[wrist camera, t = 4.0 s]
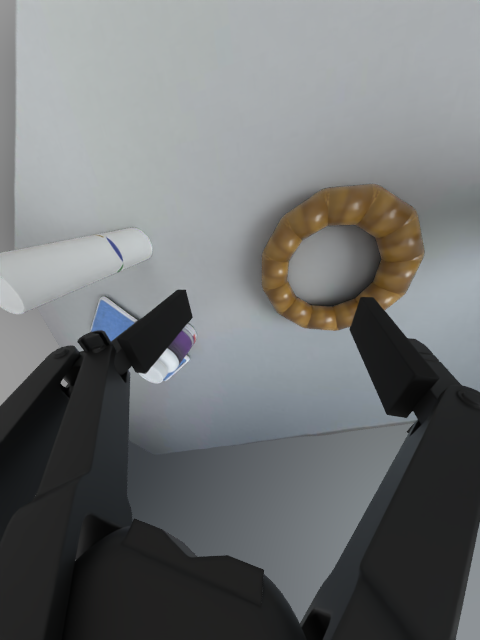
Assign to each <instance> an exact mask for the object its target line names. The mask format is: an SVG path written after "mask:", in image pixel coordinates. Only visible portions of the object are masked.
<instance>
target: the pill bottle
mask: <svg viewBox="0 0 480 640" xmlns="http://www.w3.org/2000/svg"><path fill="white" fill-rule="evenodd" d="M196 338H197V334H196V331H195V330H194V328H193V327H192V326H191V325H189V324H187V325H186V326H185V327H184V328H183V330H182V331H181V332H180V333H179V334H178V336H177V337H176V338H175V339H174V341H173V342H172V343H171V344H170V345H169V347H168V348H167V349H166V350H165V351H164V353H163V354H162V355H161V356H160V357H159V359H158V360H157V361H156V362H155V363H154V365H153V366H152V367H151V368H150V370H149V371H148V372H147V373H146V374H143V373H139V374H140V375H141V376H142V377H143V378H144V379H146V380H147V381H150V382H152V383H161V382H162V381H163V379H164V378H165V377H166V375H167V374H168V373H170V372H173V371H175V370H176V369H177V367H178V366H179V365H180V363H181V362H182V360H183V359H184V357H185V356H186V354H187V353H188V351H189V350H190V349H191V347H192V346H193V344H194V343H195V341H196Z"/></svg>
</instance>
